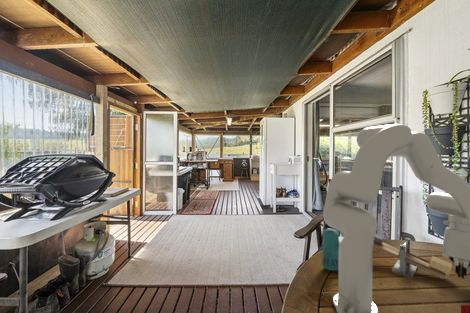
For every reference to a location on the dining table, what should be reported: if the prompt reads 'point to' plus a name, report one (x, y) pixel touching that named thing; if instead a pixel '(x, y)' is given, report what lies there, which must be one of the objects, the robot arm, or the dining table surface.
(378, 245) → the beam
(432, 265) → the block
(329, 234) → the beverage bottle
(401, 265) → the stand
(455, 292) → the dining table surface
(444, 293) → the dining table surface
